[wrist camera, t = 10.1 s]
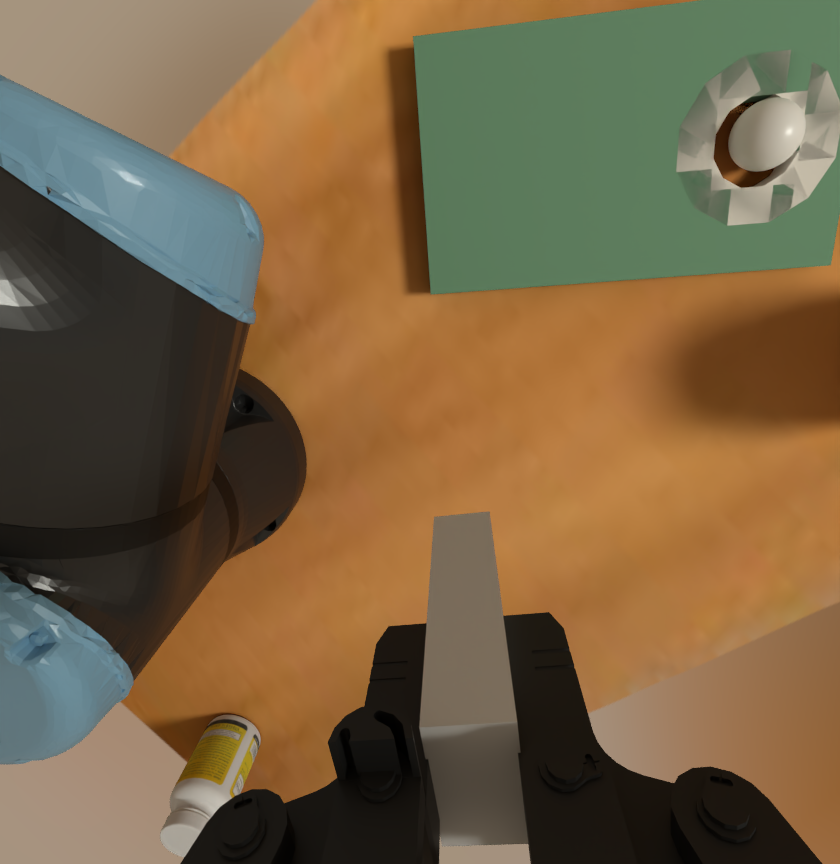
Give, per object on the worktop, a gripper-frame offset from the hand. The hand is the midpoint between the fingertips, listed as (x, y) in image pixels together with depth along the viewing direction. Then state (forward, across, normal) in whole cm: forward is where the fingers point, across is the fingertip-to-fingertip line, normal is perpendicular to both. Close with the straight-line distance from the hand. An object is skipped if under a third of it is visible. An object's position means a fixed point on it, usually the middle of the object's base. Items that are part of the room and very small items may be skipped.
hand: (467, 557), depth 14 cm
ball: (+22, +18, +11) cm, 31 cm away
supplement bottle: (+24, -26, -33) cm, 49 cm away
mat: (+24, +11, +11) cm, 29 cm away
